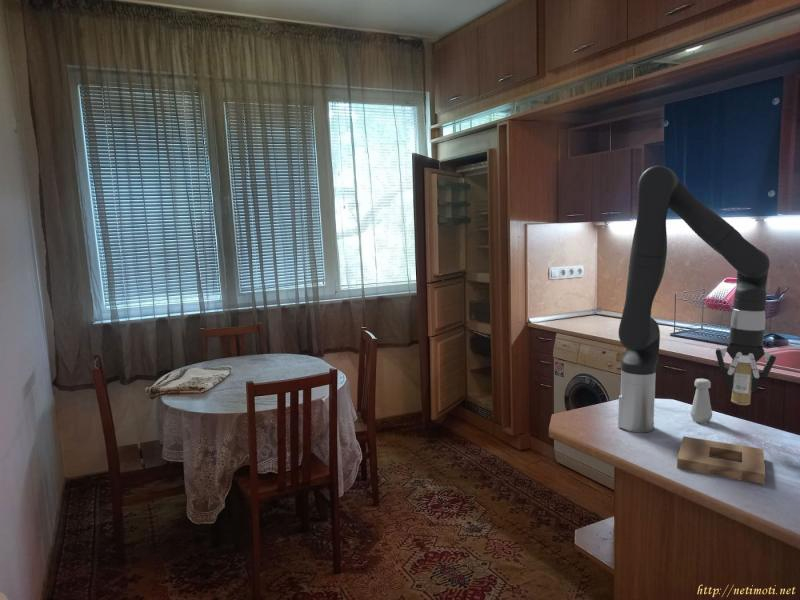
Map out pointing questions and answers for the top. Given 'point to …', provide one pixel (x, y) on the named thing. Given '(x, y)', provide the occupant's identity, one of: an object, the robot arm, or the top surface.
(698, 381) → the salt shaker
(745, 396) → the sprinkles bottle
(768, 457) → the top surface
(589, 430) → the top surface
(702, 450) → the holder board
